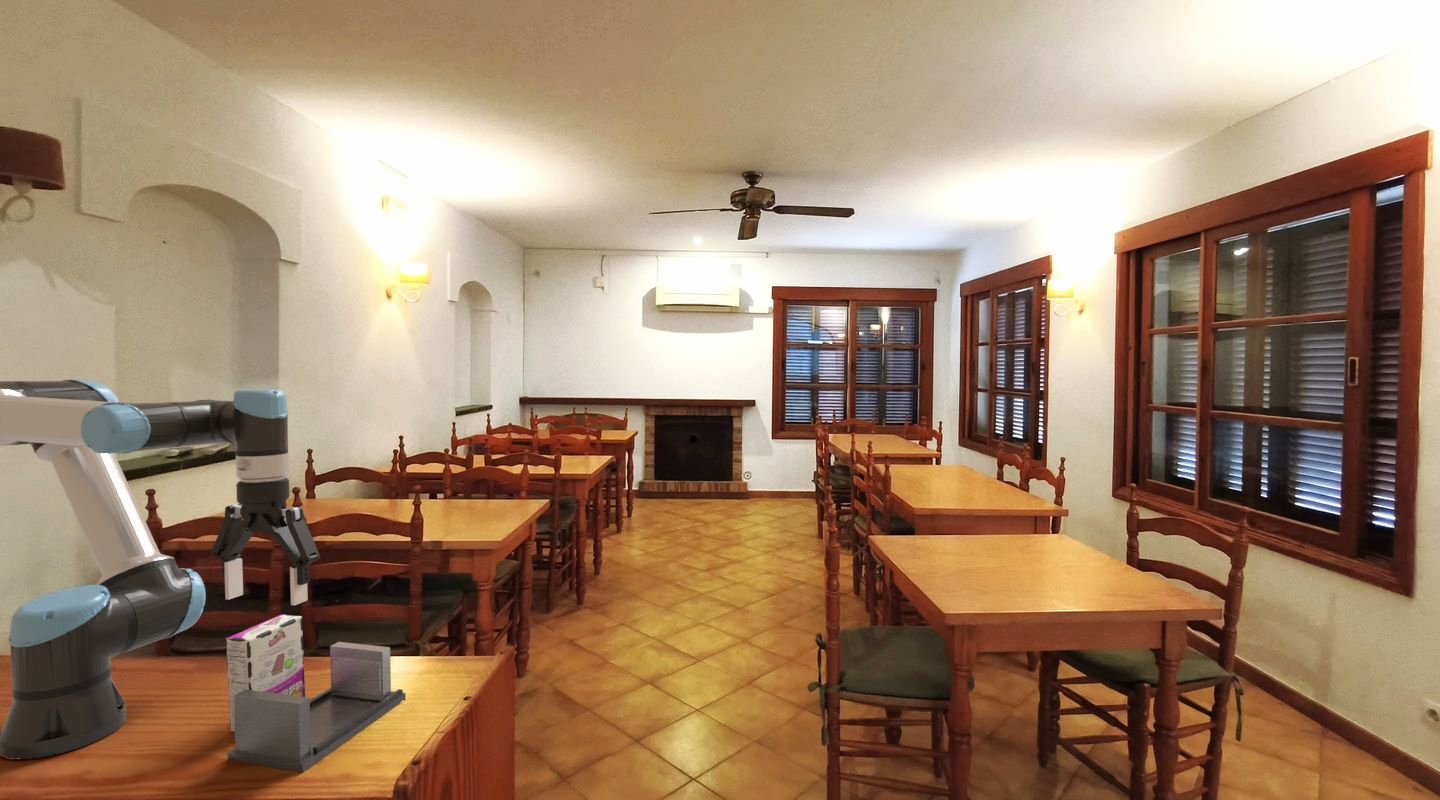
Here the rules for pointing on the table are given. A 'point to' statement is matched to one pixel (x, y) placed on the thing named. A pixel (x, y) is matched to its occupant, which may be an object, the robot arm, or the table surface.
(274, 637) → the candy bar box
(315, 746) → the vise
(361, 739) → the table surface
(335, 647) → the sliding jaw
